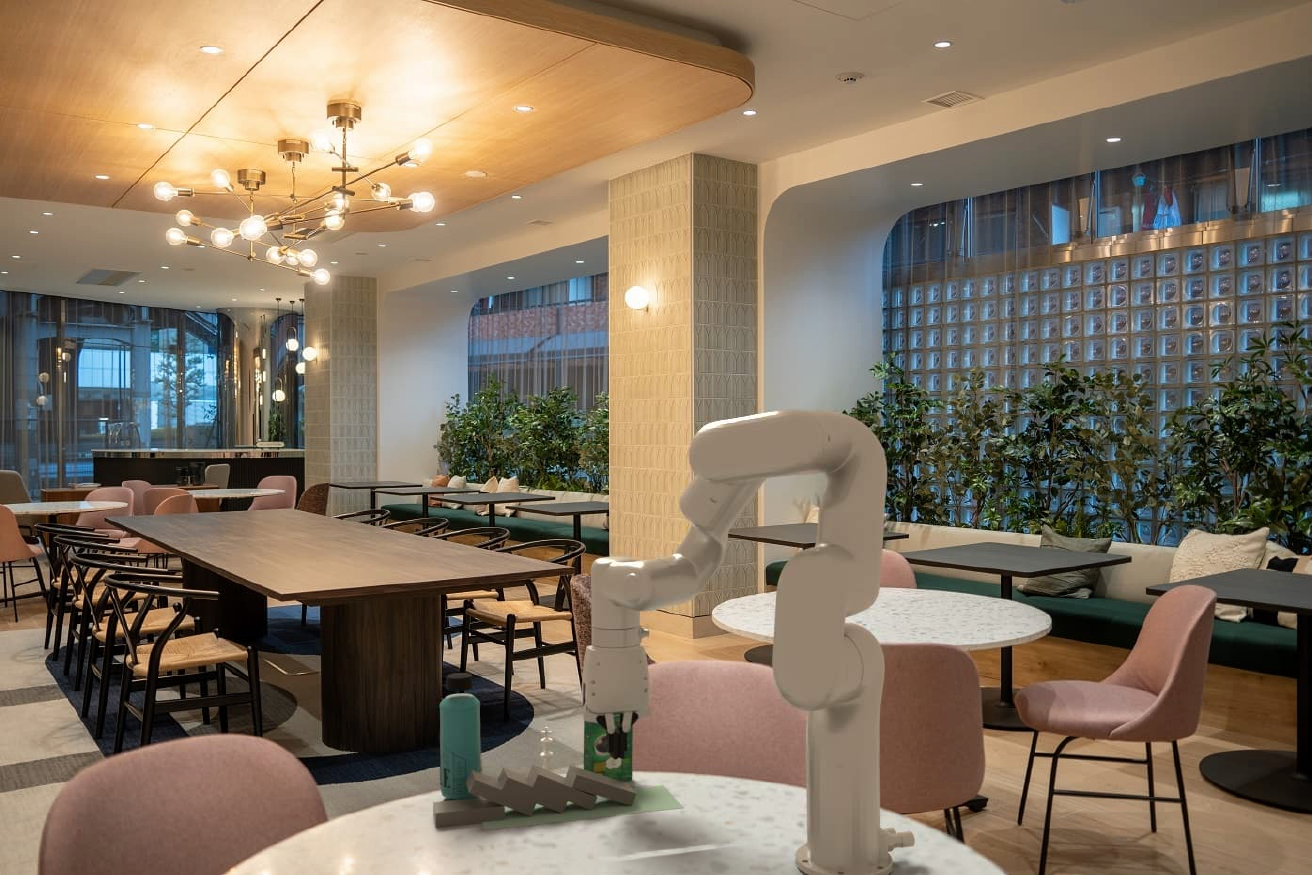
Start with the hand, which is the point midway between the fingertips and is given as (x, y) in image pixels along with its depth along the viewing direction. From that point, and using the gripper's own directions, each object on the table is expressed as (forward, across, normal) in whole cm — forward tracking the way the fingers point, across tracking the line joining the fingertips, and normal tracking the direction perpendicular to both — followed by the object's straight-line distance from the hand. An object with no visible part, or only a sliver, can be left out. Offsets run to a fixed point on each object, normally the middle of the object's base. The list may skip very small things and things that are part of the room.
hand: (617, 756), depth 160 cm
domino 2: (+6, +13, 0) cm, 15 cm away
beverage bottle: (+8, +23, -9) cm, 26 cm away
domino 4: (+6, +4, 0) cm, 7 cm away
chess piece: (+8, +9, -11) cm, 16 cm away
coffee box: (+8, -1, -10) cm, 13 cm away
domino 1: (+6, +18, 0) cm, 19 cm away
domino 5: (+6, -2, 0) cm, 6 cm away
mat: (+8, +6, 0) cm, 10 cm away
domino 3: (+6, +9, 0) cm, 11 cm away
